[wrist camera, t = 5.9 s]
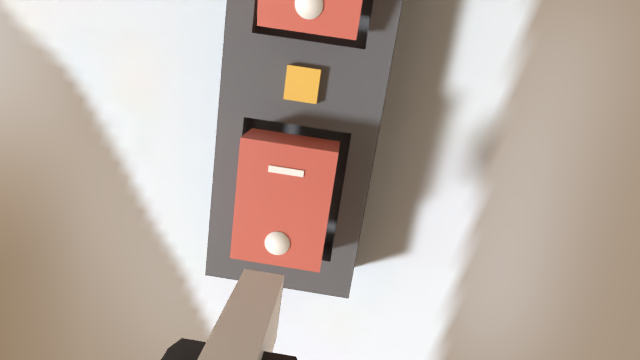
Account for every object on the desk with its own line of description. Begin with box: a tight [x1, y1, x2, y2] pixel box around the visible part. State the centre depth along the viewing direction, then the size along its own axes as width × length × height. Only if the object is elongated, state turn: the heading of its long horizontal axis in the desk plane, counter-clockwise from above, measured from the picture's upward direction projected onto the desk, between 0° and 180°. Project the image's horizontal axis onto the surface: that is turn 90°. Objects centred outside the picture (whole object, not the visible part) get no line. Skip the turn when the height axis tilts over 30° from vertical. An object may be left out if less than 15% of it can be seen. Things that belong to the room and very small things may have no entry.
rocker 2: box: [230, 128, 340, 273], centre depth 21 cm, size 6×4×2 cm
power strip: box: [205, 0, 403, 298], centre depth 21 cm, size 26×8×4 cm, turn 172°
